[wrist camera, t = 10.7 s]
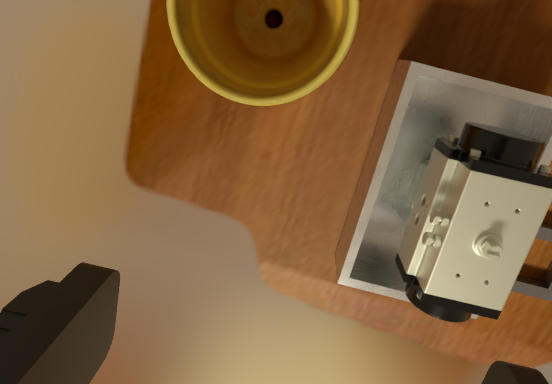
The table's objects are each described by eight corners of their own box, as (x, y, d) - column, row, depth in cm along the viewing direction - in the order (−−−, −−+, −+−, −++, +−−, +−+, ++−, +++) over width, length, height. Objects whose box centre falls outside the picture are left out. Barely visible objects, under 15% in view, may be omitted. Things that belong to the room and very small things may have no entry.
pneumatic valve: (491, 119, 32) (588, 158, 21) (438, 256, 36) (496, 352, 25) (418, 103, 32) (476, 132, 21) (374, 241, 36) (402, 330, 25)
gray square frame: (508, 214, 35) (514, 219, 34) (579, 232, 35) (588, 238, 34) (479, 276, 37) (484, 284, 36) (547, 294, 37) (554, 302, 36)
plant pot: (294, 116, 34) (286, 142, 25) (182, 39, 33) (131, 37, 24) (375, -4, 31) (401, -24, 22) (255, -93, 30) (229, -155, 21)
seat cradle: (397, 59, 32) (411, 61, 28) (540, 96, 32) (577, 103, 28) (334, 255, 38) (337, 283, 33) (456, 286, 38) (476, 319, 33)
